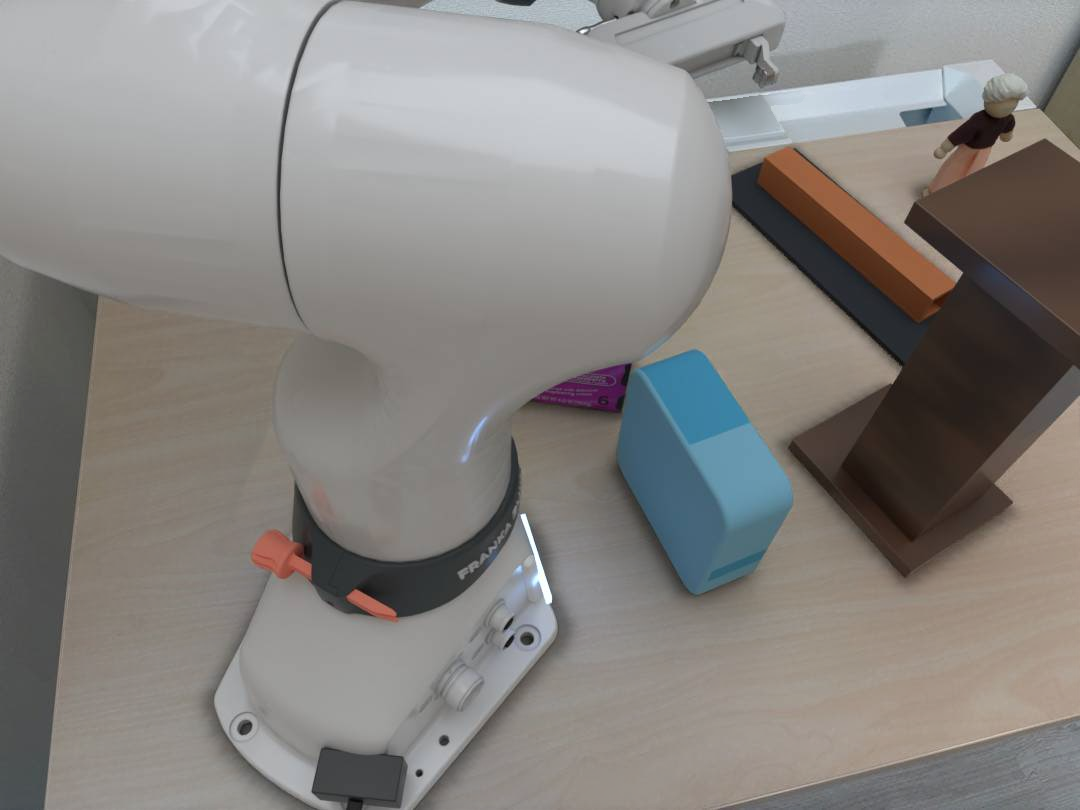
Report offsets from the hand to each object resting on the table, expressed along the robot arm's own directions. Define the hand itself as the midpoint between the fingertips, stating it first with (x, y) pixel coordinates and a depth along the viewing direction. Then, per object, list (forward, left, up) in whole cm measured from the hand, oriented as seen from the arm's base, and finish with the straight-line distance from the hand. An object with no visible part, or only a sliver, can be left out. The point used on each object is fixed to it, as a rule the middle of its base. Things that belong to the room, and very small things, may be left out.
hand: (730, 96), depth 78 cm
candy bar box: (-34, 0, -5) cm, 34 cm away
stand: (-29, -25, -5) cm, 39 cm away
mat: (-9, -16, -5) cm, 18 cm away
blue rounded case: (-40, -13, -5) cm, 42 cm away
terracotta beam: (-8, -15, -5) cm, 17 cm away
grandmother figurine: (+3, -22, -5) cm, 22 cm away
